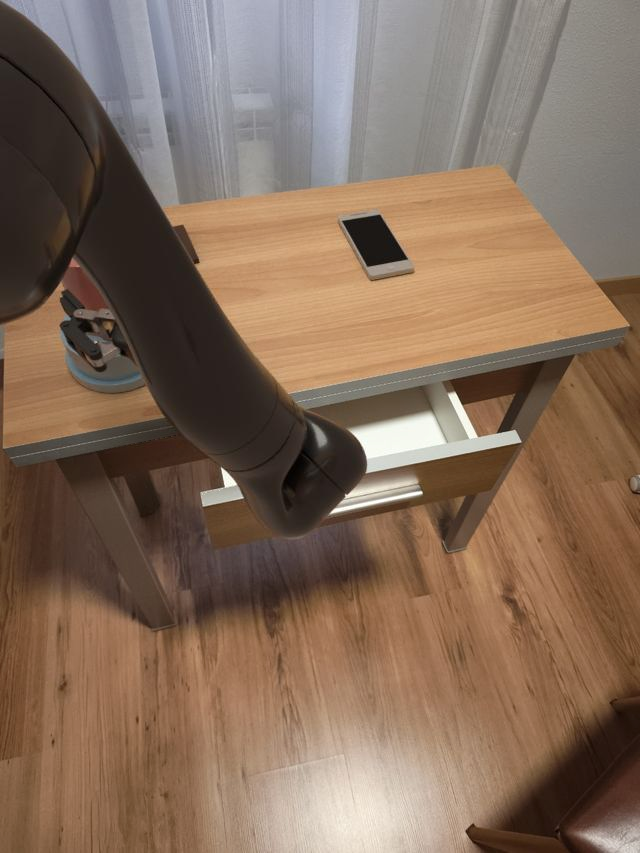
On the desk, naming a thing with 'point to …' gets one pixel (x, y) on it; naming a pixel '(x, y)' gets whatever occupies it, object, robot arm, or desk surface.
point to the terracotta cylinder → (83, 288)
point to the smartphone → (375, 244)
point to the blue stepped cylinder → (112, 380)
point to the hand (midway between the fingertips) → (103, 279)
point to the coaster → (186, 242)
